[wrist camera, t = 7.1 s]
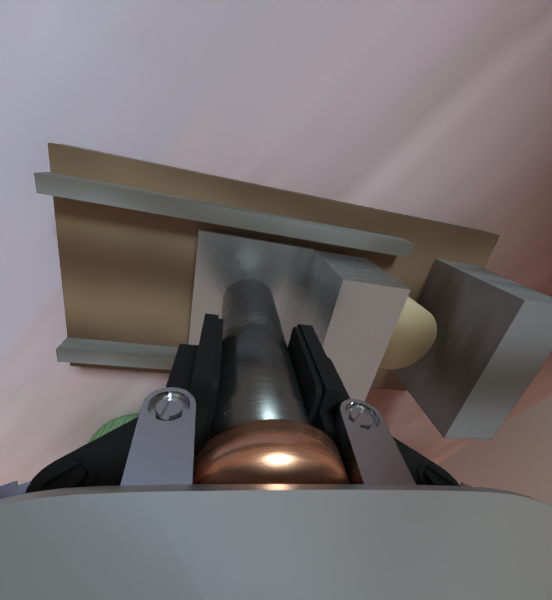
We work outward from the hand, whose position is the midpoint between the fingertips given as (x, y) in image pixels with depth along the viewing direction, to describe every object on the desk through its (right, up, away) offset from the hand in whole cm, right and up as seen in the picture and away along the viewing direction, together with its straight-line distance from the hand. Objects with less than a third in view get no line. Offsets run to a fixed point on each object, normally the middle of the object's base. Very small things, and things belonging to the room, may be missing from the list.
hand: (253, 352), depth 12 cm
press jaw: (+1, +2, +5) cm, 6 cm away
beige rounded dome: (+7, +1, +7) cm, 10 cm away
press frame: (+2, +3, +7) cm, 8 cm away
